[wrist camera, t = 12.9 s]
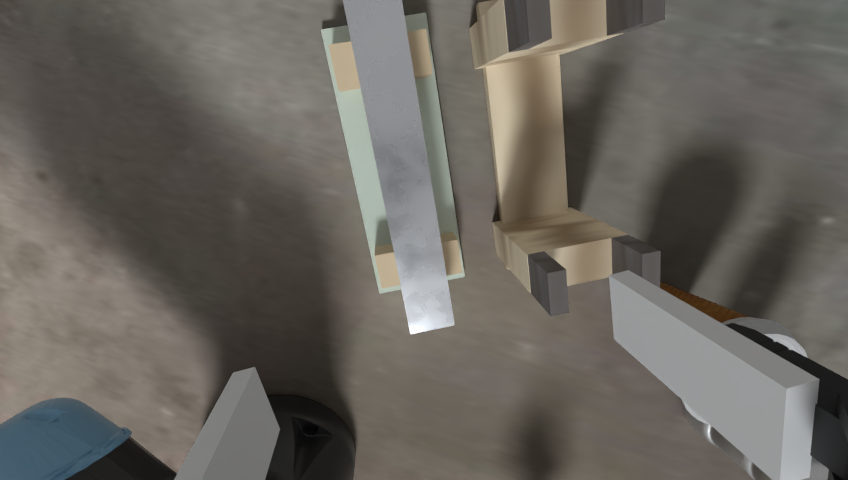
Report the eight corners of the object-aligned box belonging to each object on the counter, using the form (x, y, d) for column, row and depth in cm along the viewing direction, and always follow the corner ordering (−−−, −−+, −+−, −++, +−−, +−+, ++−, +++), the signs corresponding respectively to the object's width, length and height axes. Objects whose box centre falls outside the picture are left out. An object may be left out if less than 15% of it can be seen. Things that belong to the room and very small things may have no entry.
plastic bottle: (673, 425, 46) (880, 643, 27) (672, 376, 44) (896, 575, 25) (727, 411, 46) (969, 617, 27) (728, 362, 44) (992, 548, 25)
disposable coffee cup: (590, 301, 40) (674, 375, 29) (674, 248, 39) (795, 303, 28) (628, 367, 43) (718, 457, 32) (707, 319, 42) (828, 394, 31)
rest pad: (379, 290, 37) (379, 305, 34) (321, 31, 31) (316, 22, 28) (463, 274, 38) (470, 287, 35) (425, 14, 31) (429, 4, 28)
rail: (407, 310, 35) (410, 334, 31) (344, 0, 28) (339, -18, 24) (446, 302, 35) (454, 325, 31) (395, -8, 28) (397, -27, 24)
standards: (497, 267, 38) (551, 336, 26) (466, 7, 31) (520, -60, 19) (573, 252, 38) (660, 314, 26) (558, -8, 31) (667, -83, 20)
